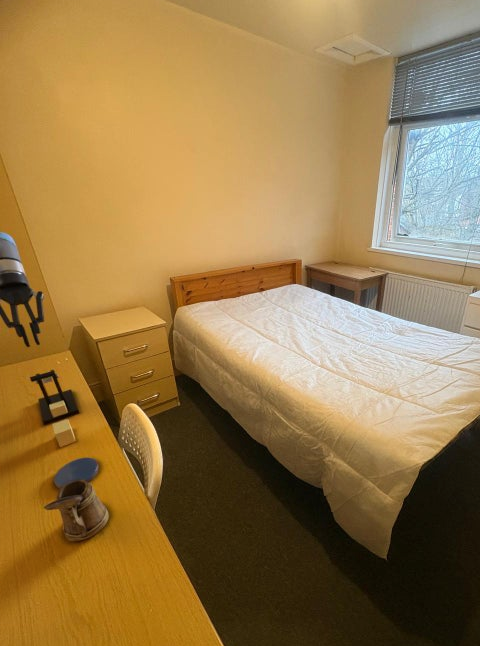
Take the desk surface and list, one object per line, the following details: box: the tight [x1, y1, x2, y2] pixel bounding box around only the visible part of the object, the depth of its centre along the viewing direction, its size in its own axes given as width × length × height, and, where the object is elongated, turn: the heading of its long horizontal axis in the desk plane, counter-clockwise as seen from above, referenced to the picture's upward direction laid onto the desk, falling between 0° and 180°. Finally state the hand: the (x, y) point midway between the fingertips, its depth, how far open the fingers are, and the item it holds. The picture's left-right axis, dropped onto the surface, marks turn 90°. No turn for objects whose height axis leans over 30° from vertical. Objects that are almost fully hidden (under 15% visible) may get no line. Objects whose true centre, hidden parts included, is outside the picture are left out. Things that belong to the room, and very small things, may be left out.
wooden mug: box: [43, 479, 110, 542], centre depth 69 cm, size 9×14×18 cm, turn 27°
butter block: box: [51, 418, 77, 448], centre depth 98 cm, size 4×6×5 cm, turn 40°
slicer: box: [35, 369, 80, 426], centre depth 110 cm, size 16×10×14 cm, turn 40°
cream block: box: [49, 401, 68, 417], centre depth 107 cm, size 4×4×3 cm
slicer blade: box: [29, 370, 57, 384], centre depth 102 cm, size 16×6×2 cm, turn 39°
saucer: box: [53, 457, 100, 490], centre depth 87 cm, size 10×10×1 cm
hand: (32, 344), depth 97 cm, fingers closed
